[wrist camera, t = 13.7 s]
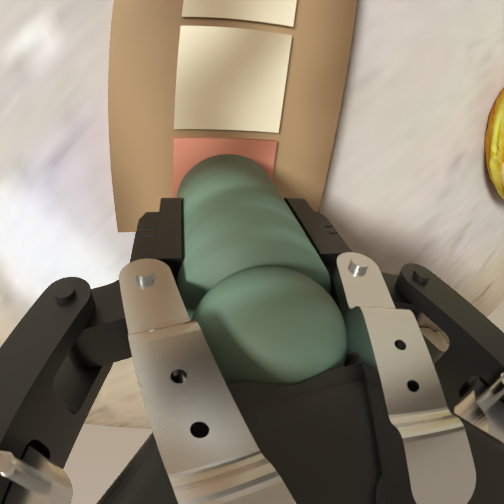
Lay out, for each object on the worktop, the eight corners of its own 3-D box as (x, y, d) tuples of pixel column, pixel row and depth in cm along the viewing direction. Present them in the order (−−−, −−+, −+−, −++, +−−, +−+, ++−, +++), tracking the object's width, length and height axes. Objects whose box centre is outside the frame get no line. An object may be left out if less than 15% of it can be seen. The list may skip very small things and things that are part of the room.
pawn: (282, 159, 12) (418, 340, 5) (263, 243, 14) (336, 433, 7) (180, 149, 11) (183, 365, 4) (174, 240, 13) (183, 453, 6)
